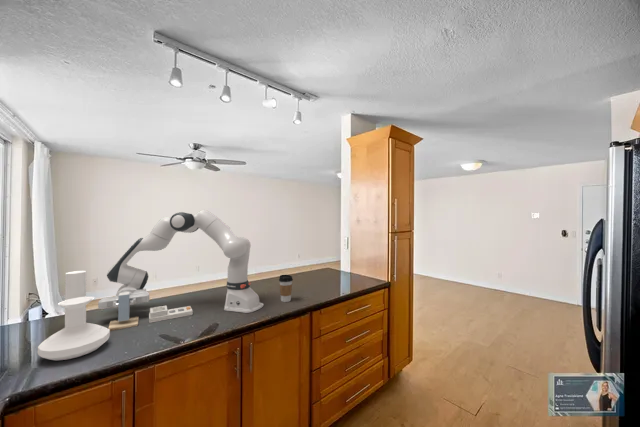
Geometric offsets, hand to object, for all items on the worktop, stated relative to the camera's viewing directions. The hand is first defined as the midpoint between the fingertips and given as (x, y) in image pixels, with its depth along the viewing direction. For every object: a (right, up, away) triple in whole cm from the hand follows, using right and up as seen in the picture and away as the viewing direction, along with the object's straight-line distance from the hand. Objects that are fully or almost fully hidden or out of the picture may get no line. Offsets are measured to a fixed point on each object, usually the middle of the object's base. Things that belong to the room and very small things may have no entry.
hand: (124, 304), depth 123 cm
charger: (-1, -7, +1) cm, 7 cm away
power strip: (+16, -10, +11) cm, 22 cm away
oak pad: (-1, -10, +1) cm, 10 cm away
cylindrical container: (-22, -10, -1) cm, 24 cm away
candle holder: (0, -10, -24) cm, 26 cm away
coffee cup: (+72, -10, +37) cm, 81 cm away
